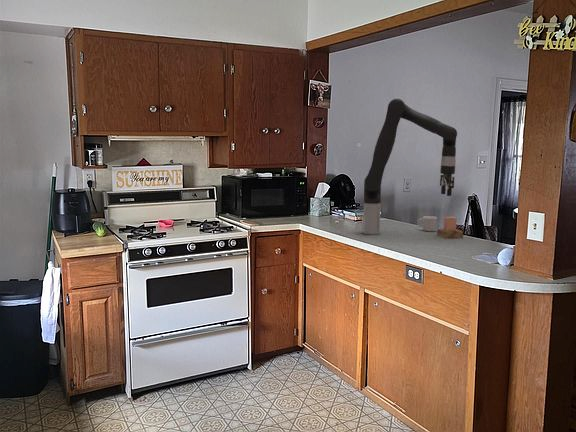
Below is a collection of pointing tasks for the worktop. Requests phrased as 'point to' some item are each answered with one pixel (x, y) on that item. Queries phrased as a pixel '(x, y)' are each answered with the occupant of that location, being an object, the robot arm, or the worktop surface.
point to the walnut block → (449, 234)
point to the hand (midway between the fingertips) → (446, 195)
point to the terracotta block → (450, 223)
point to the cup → (428, 223)
